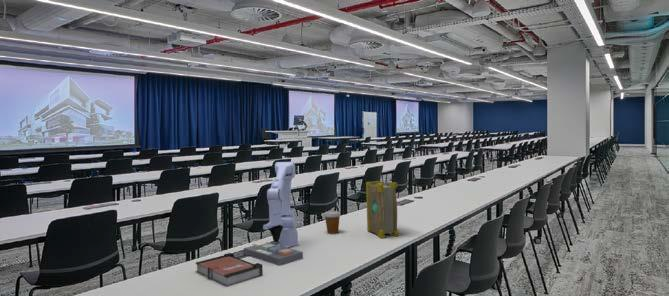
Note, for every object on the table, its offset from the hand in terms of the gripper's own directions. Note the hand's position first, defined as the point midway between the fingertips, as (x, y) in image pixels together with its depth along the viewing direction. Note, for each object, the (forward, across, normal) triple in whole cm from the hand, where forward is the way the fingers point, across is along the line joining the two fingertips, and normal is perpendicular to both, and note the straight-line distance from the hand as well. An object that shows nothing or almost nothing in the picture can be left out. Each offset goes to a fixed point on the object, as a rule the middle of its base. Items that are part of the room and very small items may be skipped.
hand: (276, 241), depth 198 cm
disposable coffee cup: (+8, -52, -6) cm, 53 cm away
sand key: (+5, -2, -13) cm, 14 cm away
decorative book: (+8, -64, +21) cm, 68 cm away
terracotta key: (+5, +1, +6) cm, 8 cm away
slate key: (+5, 0, 0) cm, 5 cm away
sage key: (+5, -1, -6) cm, 8 cm away
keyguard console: (+8, 0, -3) cm, 8 cm away
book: (+8, +28, -2) cm, 29 cm away
